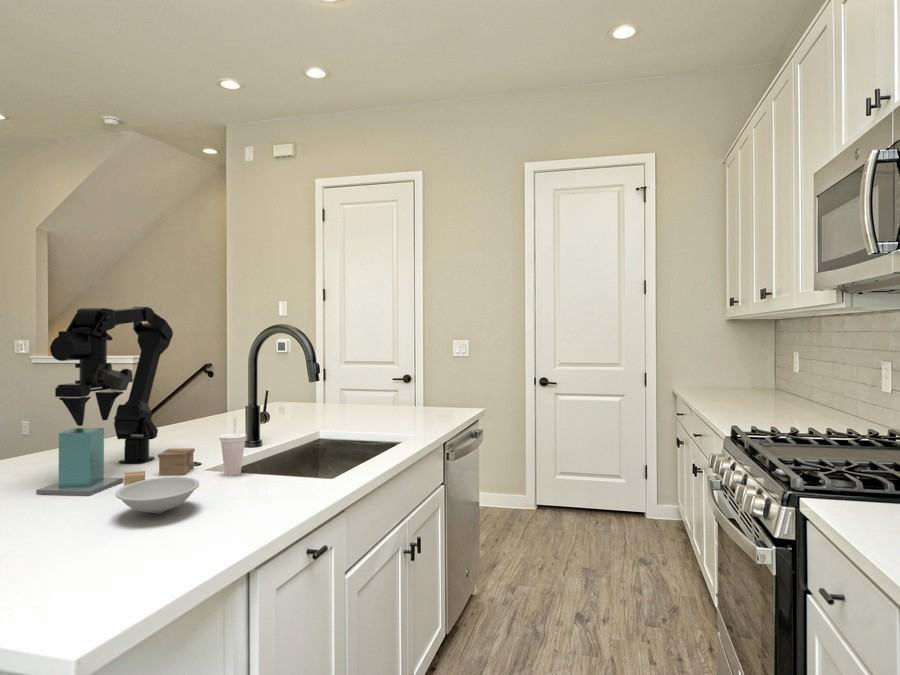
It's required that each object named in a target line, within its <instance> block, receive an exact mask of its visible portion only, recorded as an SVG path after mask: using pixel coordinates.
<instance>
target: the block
mask: <svg viewBox="0 0 900 675" xmlns="http://www.w3.org/2000/svg"><path fill="white" fill-rule="evenodd" d="M123 478H124V482H123V487H124V486H126V485H129V484H132V483H135V482H138V481H143V480H146V470H136V471H125V472H124V476H123Z"/></svg>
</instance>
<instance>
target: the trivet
mask: <svg viewBox="0 0 900 675" xmlns="http://www.w3.org/2000/svg"><path fill="white" fill-rule="evenodd" d="M119 483H120V484H122V483H124V477H112V476H111V477H109V476H108V477H107V476H104V480H102V481H100V482H99V483H97V484H95V485H93V486H91V487H65V488H59V481H58V482H55V483H52V484H50V485H47V486H44V487H40V488H38V489H36V491H35V493H36V494H46V495H45V496H73V495H76V496H79V495H80V496H81V497H91V496H92V495H95V493H96V494H98V493H101V492H102V490H103V491H105V490H107V488H108V489H110V488H112V486H113V487H115V486H118V485H120V484H119ZM104 489H105V490H104ZM97 492H98V493H97ZM90 495H91V496H90ZM80 496H79V497H80Z"/></svg>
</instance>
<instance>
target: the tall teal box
mask: <svg viewBox="0 0 900 675" xmlns="http://www.w3.org/2000/svg"><path fill="white" fill-rule="evenodd" d="M104 460H105V427H94V428H92V427H91V428H90V427H88V428H87V427H86V428H84V427H82V428H81V427H80V428H79V427H78V428H75V427H74V428H71V429H67V430H66V431H60V432H58V482H59V488H65V487H91V486H93V485H95V484H97V483H99V482H100V481H102V480H104V477H105V476H104V475H105V474H104V473H105V470H104V469H105V467H104V465H105V463H104V462H105V461H104Z"/></svg>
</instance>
